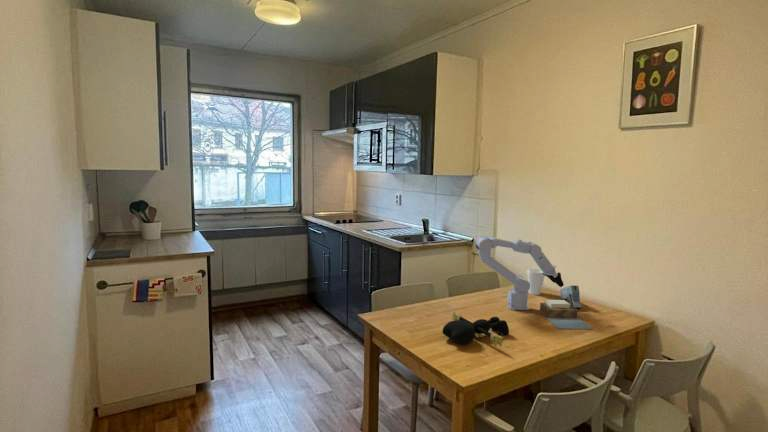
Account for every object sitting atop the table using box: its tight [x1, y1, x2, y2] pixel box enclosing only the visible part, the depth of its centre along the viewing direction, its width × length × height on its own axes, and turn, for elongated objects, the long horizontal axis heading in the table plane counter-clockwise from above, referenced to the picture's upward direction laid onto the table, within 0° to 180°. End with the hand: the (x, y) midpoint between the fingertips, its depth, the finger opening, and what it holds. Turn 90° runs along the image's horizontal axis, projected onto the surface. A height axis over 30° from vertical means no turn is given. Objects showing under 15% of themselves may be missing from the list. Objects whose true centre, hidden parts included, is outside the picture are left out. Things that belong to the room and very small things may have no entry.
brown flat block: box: [539, 302, 579, 318], centre depth 210 cm, size 14×10×4 cm
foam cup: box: [526, 268, 546, 296], centre depth 243 cm, size 10×9×13 cm
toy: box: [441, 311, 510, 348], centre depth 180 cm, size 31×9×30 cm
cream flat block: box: [545, 299, 571, 308], centre depth 210 cm, size 9×6×2 cm, turn 91°
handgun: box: [560, 284, 583, 310], centre depth 226 cm, size 4×18×12 cm, turn 179°
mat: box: [545, 317, 594, 330], centre depth 198 cm, size 16×13×1 cm
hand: (558, 283), depth 217 cm, fingers open, 7 cm apart
